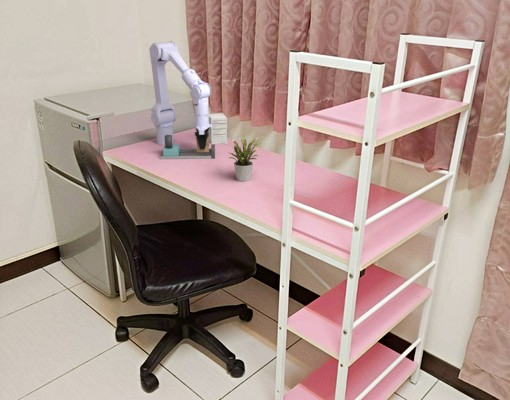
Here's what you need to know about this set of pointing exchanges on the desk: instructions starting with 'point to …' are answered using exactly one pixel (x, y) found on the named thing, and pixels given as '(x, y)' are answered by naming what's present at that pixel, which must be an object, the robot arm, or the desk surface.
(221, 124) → the supplement box
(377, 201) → the desk surface
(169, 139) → the ram
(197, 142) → the wooden block with knob
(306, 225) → the desk surface
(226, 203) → the desk surface
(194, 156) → the tray
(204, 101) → the robot arm
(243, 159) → the house plant
